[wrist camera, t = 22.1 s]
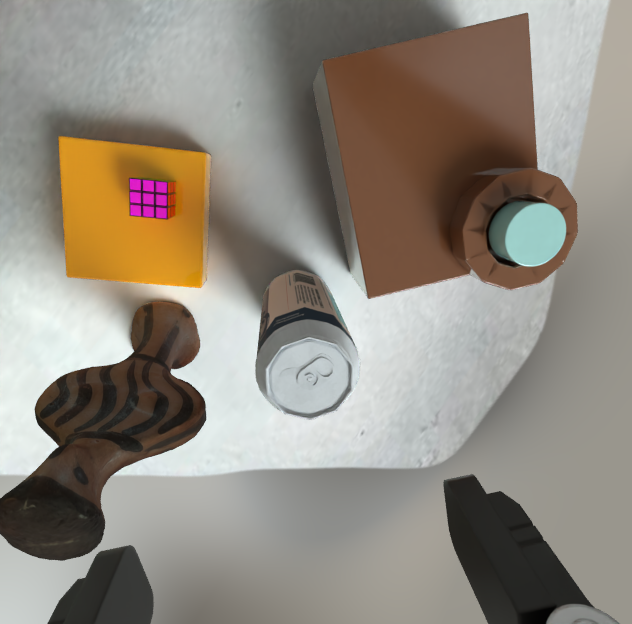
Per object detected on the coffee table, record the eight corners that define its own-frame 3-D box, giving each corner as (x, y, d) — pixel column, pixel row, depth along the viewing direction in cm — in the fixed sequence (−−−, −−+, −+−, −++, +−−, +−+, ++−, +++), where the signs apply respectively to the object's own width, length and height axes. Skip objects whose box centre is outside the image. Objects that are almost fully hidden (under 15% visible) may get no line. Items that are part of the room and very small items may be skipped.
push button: (485, 207, 22) (502, 210, 20) (543, 194, 22) (565, 196, 20) (491, 265, 23) (507, 273, 21) (547, 252, 23) (567, 258, 21)
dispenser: (311, 84, 27) (326, 49, 19) (487, 43, 27) (570, -7, 19) (352, 285, 31) (377, 322, 23) (504, 248, 31) (579, 274, 23)
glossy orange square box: (207, 280, 30) (196, 297, 26) (81, 269, 29) (49, 285, 25) (211, 153, 27) (200, 150, 23) (74, 138, 26) (38, 132, 22)
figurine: (232, 313, 30) (176, 494, 13) (220, 378, 32) (156, 618, 15) (121, 292, 29) (-95, 460, 12) (113, 360, 31) (-90, 597, 14)
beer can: (247, 296, 30) (230, 372, 19) (303, 253, 30) (321, 305, 18) (291, 347, 32) (299, 446, 20) (345, 307, 31) (385, 386, 20)
